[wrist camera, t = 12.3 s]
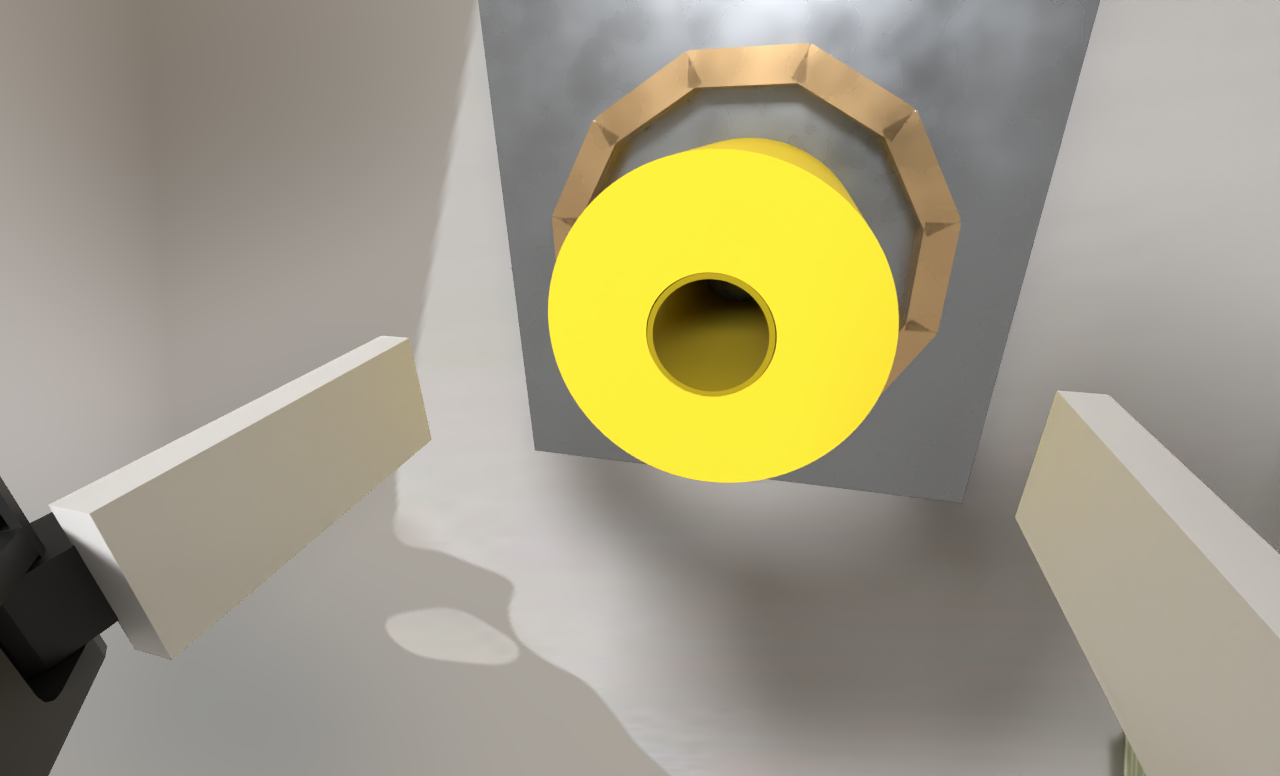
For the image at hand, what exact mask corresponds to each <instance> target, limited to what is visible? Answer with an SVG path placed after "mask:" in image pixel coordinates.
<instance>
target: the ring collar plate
mask: <svg viewBox="0 0 1280 776" xmlns="http://www.w3.org/2000/svg"><path fill="white" fill-rule="evenodd" d="M478 1H479V9H480V17H481V25H482V33H483V41H484V49H485V57H486V65H487V73H488V81H489V89H490V97H491V105H492V113H493V120H494V128H495V136H496V144H497V152H498V160H499V168H500V176H501V184H502V192H503V200H504V208H505V216H506V224H507V232H508V240H509V247H510V255H511V263H512V271H513V279H514V287H515V295H516V303H517V311H518V319H519V327H520V335H521V343H522V351H523V359H524V367H525V375H526V382H527V390H528V398H529V406H530V414H531V422H532V430H533V438H534V446H535V450H537V451H545V452H553V453H561V454H569V455H577V456H586V457H594V458H602V459H610V460H618V461H626V462H634V463H642V464H647V463H645V462H643V461H641V460H639V459H637V458H635V457H634V456H632V455H630V454H629V453H627V452H626V451H624V450H623V449H621V448H620V447H619V446H617V445H616V444H615V443H613V442H612V441H611V440H610V439H609V438H607V437H606V436H605V435H604V434H603V433H602V432H601V431H600V430H599V429H598V428H597V427H596V426H595V425H594V424H593V423H592V422H591V421H590V420H589V418H588V417H587V416H586V415H585V414H584V412H583V411H582V410H581V408H580V407H579V405H578V404H577V403H576V401H575V399H574V398H573V396H572V395H571V393H570V391H569V389H568V388H567V386H566V384H565V382H564V380H563V377H562V375H561V373H560V370H559V368H558V365H557V362H556V359H555V356H554V352H553V348H552V343H551V338H550V332H549V322H548V300H549V290H550V283H551V278H552V274H553V270H554V266H555V263H556V260H557V257H558V255H559V252H560V250H561V247H562V245H563V243H564V241H565V239H566V237H567V235H568V233H569V232H570V230H571V228H572V227H573V225H574V224H575V222H576V221H577V219H578V218H579V216H580V215H581V214H582V213H583V211H584V210H585V209H586V208H587V207H588V205H589V204H590V203H591V202H592V201H593V200H594V199H595V198H596V197H597V196H598V195H599V194H600V193H601V192H603V191H604V190H605V189H606V188H607V187H609V186H610V185H611V184H612V183H614V182H615V181H617V180H618V179H619V178H621V177H623V176H624V175H626V174H627V173H629V172H631V171H633V170H635V169H636V168H638V167H640V166H643V165H645V164H647V163H649V162H652V161H654V160H657V159H660V158H663V157H666V156H670V155H673V154H677V153H681V152H684V151H688V150H691V149H695V148H699V147H702V146H706V145H710V144H713V143H717V142H720V141H725V140H730V139H737V138H763V139H770V140H775V141H779V142H783V143H786V144H789V145H792V146H794V147H797V148H799V149H801V150H803V151H805V152H807V153H808V154H810V155H812V156H813V157H815V158H816V159H818V160H819V161H820V162H822V163H823V164H824V165H825V166H826V167H827V168H829V169H830V170H831V171H832V172H833V174H834V175H835V176H836V177H837V178H838V179H839V180H840V182H841V183H842V184H843V186H844V187H845V189H846V190H847V192H848V193H849V195H850V197H851V198H852V200H853V202H854V203H855V205H856V206H857V208H858V210H859V211H860V213H861V214H862V216H863V218H864V219H865V221H866V223H867V224H868V226H869V227H870V229H871V231H872V232H873V234H874V235H875V237H876V239H877V241H878V242H879V244H880V246H881V248H882V250H883V252H884V254H885V257H886V259H887V262H888V264H889V267H890V270H891V273H892V276H893V280H894V284H895V289H896V294H897V301H898V311H899V330H898V341H897V347H896V353H895V357H894V361H893V365H892V368H891V371H890V374H889V377H888V379H887V382H886V384H885V386H884V388H883V390H882V392H881V394H880V396H879V398H878V400H877V401H876V403H875V405H874V406H873V408H872V409H871V411H870V412H869V414H868V415H867V416H866V418H865V419H864V420H863V421H862V423H861V424H860V425H859V426H858V427H857V428H856V429H855V430H854V431H853V432H852V433H851V434H850V435H849V436H848V437H847V438H846V439H845V440H844V441H843V442H841V443H840V444H839V445H838V446H836V447H835V448H834V449H832V450H831V451H830V452H828V453H827V454H825V455H824V456H822V457H820V458H819V459H817V460H815V461H813V462H811V463H810V464H808V465H805V466H803V467H801V468H799V469H796V470H794V471H791V472H788V473H786V474H782V475H779V476H776V477H772V478H767V479H771V480H779V481H787V482H796V483H804V484H812V485H820V486H828V487H836V488H844V489H852V490H860V491H868V492H876V493H884V494H892V495H901V496H909V497H917V498H925V499H933V500H941V501H949V502H957V503H962V501H963V498H964V494H965V490H966V487H967V483H968V480H969V476H970V472H971V469H972V465H973V461H974V458H975V454H976V450H977V447H978V443H979V439H980V436H981V432H982V429H983V425H984V421H985V418H986V414H987V410H988V407H989V403H990V399H991V396H992V392H993V388H994V385H995V381H996V378H997V374H998V370H999V367H1000V363H1001V359H1002V356H1003V352H1004V348H1005V345H1006V341H1007V338H1008V334H1009V330H1010V327H1011V323H1012V319H1013V316H1014V312H1015V308H1016V305H1017V301H1018V297H1019V294H1020V290H1021V287H1022V283H1023V279H1024V276H1025V272H1026V268H1027V265H1028V261H1029V257H1030V254H1031V250H1032V246H1033V243H1034V239H1035V236H1036V232H1037V228H1038V225H1039V221H1040V217H1041V214H1042V210H1043V206H1044V203H1045V199H1046V195H1047V192H1048V188H1049V185H1050V181H1051V177H1052V174H1053V170H1054V166H1055V163H1056V159H1057V155H1058V152H1059V148H1060V145H1061V141H1062V137H1063V134H1064V130H1065V126H1066V123H1067V119H1068V115H1069V112H1070V108H1071V104H1072V101H1073V97H1074V94H1075V90H1076V86H1077V83H1078V79H1079V75H1080V72H1081V68H1082V64H1083V61H1084V57H1085V53H1086V50H1087V46H1088V43H1089V39H1090V35H1091V32H1092V28H1093V24H1094V21H1095V17H1096V13H1097V10H1098V6H1099V3H1100V0H478ZM706 281H707V283H708V285H709V286H710V287H711V289H712V290H713V291H714V292H715V293H716V294H718V295H719V296H721V297H722V298H724V299H727V300H730V301H735V302H746V301H751V300H754V298H753V297H752V296H751V295H750V294H749V293H747V292H746V291H745V290H743V289H742V288H740V287H738V286H737V285H734V284H732V283H729V282H726V281H722V280H716V279H706Z"/></svg>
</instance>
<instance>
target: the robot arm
mask: <svg viewBox="0 0 1280 776" xmlns="http://www.w3.org/2000/svg"><path fill="white" fill-rule="evenodd" d="M430 440H431V435H430V431H429V426H428V421H427V417H426V412H425V408H424V403H423V399H422V394H421V389H420V385H419V380H418V376H417V371H416V367H415V362H414V357H413V353H412V348H411V344H410V340H409V338H403V337H391V336H380V337H378V338H376V339H374V340H372V341H370V342H368V343H366V344H364V345H362V346H360V347H358V348H357V349H354V350H352V351H351V352H349V353H347V354H345V355H343V356H341V357H339V358H337V359H335V360H333V361H331V362H329V363H327V364H325V365H323V366H321V367H319V368H317V369H315V370H313V371H311V372H309V373H307V374H305V375H303V376H301V377H299V378H298V379H295V380H293V381H291V382H289V383H287V384H285V385H284V386H282V387H280V388H278V389H276V390H274V391H272V392H270V393H268V394H266V395H264V396H262V397H260V398H258V399H256V400H254V401H252V402H250V403H248V404H246V405H244V406H242V407H241V408H238V409H236V410H234V411H233V412H230V413H228V414H226V415H225V416H223V417H221V418H219V419H217V420H215V421H213V422H211V423H209V424H207V425H205V426H203V427H201V428H199V429H197V430H195V431H193V432H191V433H189V434H187V435H185V436H183V437H181V438H179V439H177V440H175V441H173V442H171V443H169V444H167V445H166V446H164V447H162V448H160V449H158V450H156V451H154V452H152V453H150V454H148V455H146V456H144V457H142V458H140V459H138V460H136V461H134V462H132V463H130V464H128V465H126V466H124V467H122V468H120V469H118V470H116V471H114V472H112V473H110V474H109V475H107V476H105V477H103V478H101V479H99V480H97V481H95V482H93V483H91V484H89V485H87V486H85V487H83V488H81V489H79V490H77V491H75V492H73V493H71V494H69V495H67V496H65V497H63V498H61V499H59V500H58V501H55V502H54V503H52V504H49V507H50V508H51V510H52V512H51V513H49V514H47V515H46V516H44V517H42V518H40V519H37V520H35V521H34V522H31V523H29V521H28V520H27V518H26V517H25V515H24V513H23V512H22V510H21V509H20V507H19V506H18V504H17V502H16V501H15V499H14V498H13V496H12V495H11V493H10V491H9V490H8V488H7V486H6V485H5V483H4V482H3V480H2V478H1V477H0V776H48V775H49V773H50V771H51V769H52V767H53V765H54V763H55V761H56V758H57V756H58V754H59V752H60V750H61V748H62V746H63V744H64V742H65V740H66V738H67V736H68V733H69V731H70V729H71V727H72V725H73V723H74V721H75V719H76V717H77V714H78V713H79V711H80V708H81V706H82V704H83V702H84V700H85V698H86V696H87V694H88V692H89V690H90V687H91V685H92V683H93V681H94V679H95V677H96V675H97V673H98V671H99V669H100V666H101V665H102V663H103V661H104V658H105V655H106V649H107V646H106V644H105V642H104V641H103V639H102V638H101V636H100V633H102V632H103V631H104V630H106V629H107V628H109V627H110V626H111V625H112V624H114V623H115V622H117V621H118V622H119V624H120V625H121V627H122V629H123V630H124V632H125V634H126V635H127V637H128V639H129V640H130V642H131V644H132V645H133V647H134V649H136V650H139V651H143V652H146V653H149V654H153V655H157V656H160V657H164V658H167V659H171V660H172V659H174V658H175V657H176V656H177V655H178V654H180V653H181V652H182V651H183V650H184V649H185V648H187V647H188V646H189V645H190V644H191V643H192V642H194V641H195V640H196V639H197V638H198V637H199V636H201V635H202V634H203V633H204V632H205V631H207V630H208V629H209V628H210V627H211V626H213V625H214V624H215V623H216V622H217V621H218V620H219V619H221V618H222V617H223V616H224V615H225V614H227V613H228V612H229V611H230V610H231V609H232V608H234V607H235V606H236V605H237V604H238V603H240V602H241V601H242V600H243V599H244V598H245V597H247V596H248V595H249V594H250V593H251V592H253V591H254V590H255V589H256V588H257V587H258V586H260V585H261V584H262V583H263V582H264V581H266V580H267V579H268V578H269V577H270V576H271V575H273V574H274V573H275V572H276V571H277V570H278V569H280V568H281V567H282V566H283V565H284V564H285V563H287V562H288V561H289V560H290V559H291V558H293V557H294V556H295V555H296V554H297V553H298V552H299V551H301V550H302V549H303V548H304V547H306V546H307V545H308V544H309V543H310V542H311V541H313V540H314V539H315V538H316V537H317V536H319V534H321V533H322V532H323V531H324V530H325V529H327V528H328V527H329V526H330V525H332V524H333V523H334V522H335V521H336V520H337V519H339V518H340V517H341V516H342V515H343V514H344V513H346V512H347V511H348V510H349V509H350V508H351V507H353V506H354V505H355V504H356V503H357V502H358V501H360V500H361V499H362V498H363V497H365V496H366V495H367V494H368V493H369V492H370V491H372V490H373V489H374V488H375V487H376V486H377V485H379V484H380V483H381V482H382V481H383V480H384V479H386V478H387V477H388V476H389V475H390V474H391V473H393V472H394V471H395V470H396V469H397V468H399V467H400V466H401V465H402V464H403V463H405V462H406V461H407V460H408V459H409V458H410V457H412V456H413V455H414V454H415V453H416V452H418V451H419V450H420V449H421V448H422V447H423V446H425V445H426V444H427V443H428V442H429V441H430ZM1015 519H1016V520H1017V522H1018V524H1019V526H1020V528H1021V530H1022V532H1023V534H1024V536H1025V538H1026V540H1027V542H1028V544H1029V546H1030V548H1031V550H1032V552H1033V554H1034V556H1035V558H1036V560H1037V562H1038V564H1039V566H1040V568H1041V570H1042V572H1043V574H1044V576H1045V578H1046V580H1047V581H1048V583H1049V585H1050V587H1051V589H1052V591H1053V593H1054V595H1055V597H1056V599H1057V601H1058V603H1059V605H1060V607H1061V609H1062V611H1063V613H1064V615H1065V617H1066V619H1067V621H1068V623H1069V625H1070V627H1071V629H1072V631H1073V633H1074V635H1075V637H1076V639H1077V641H1078V642H1079V644H1080V646H1081V648H1082V650H1083V652H1084V654H1085V656H1086V658H1087V660H1088V662H1089V664H1090V666H1091V668H1092V670H1093V672H1094V674H1095V676H1096V678H1097V680H1098V682H1099V684H1100V686H1101V688H1102V690H1103V692H1104V694H1105V696H1106V698H1107V700H1108V702H1109V703H1110V705H1111V707H1112V709H1113V711H1114V713H1115V715H1116V717H1117V719H1118V721H1119V723H1120V725H1121V727H1122V729H1123V731H1124V733H1125V735H1126V737H1127V739H1128V741H1129V743H1130V745H1131V747H1132V749H1133V751H1134V753H1135V755H1136V757H1137V759H1138V761H1139V763H1140V764H1141V766H1142V768H1143V770H1144V772H1145V774H1146V776H1280V554H1279V553H1278V552H1277V551H1276V550H1274V549H1273V548H1272V547H1271V546H1270V545H1269V544H1268V543H1267V542H1266V541H1265V540H1264V539H1263V538H1262V537H1261V536H1259V535H1258V534H1257V533H1256V532H1255V531H1254V530H1253V529H1252V528H1251V527H1250V526H1249V525H1248V524H1247V523H1246V522H1244V521H1243V520H1242V519H1241V518H1240V517H1239V516H1238V515H1237V514H1236V513H1235V512H1234V511H1233V510H1232V509H1231V508H1230V507H1228V506H1227V505H1226V504H1225V503H1224V502H1223V501H1222V500H1221V499H1220V498H1219V497H1218V496H1217V495H1216V494H1215V493H1213V492H1212V491H1211V490H1210V489H1209V488H1208V487H1207V486H1206V485H1205V484H1204V483H1203V482H1202V481H1201V480H1200V479H1198V478H1197V477H1196V476H1195V475H1194V474H1193V473H1192V472H1191V471H1190V470H1189V469H1188V468H1187V467H1186V466H1185V465H1183V464H1182V463H1181V462H1180V461H1179V460H1178V459H1177V458H1176V457H1175V456H1174V455H1173V454H1172V453H1171V452H1170V451H1168V450H1167V449H1166V448H1165V447H1164V446H1163V445H1162V444H1161V443H1160V442H1159V441H1158V440H1157V439H1156V438H1155V437H1153V436H1152V435H1151V434H1150V433H1149V432H1148V431H1147V430H1146V429H1145V428H1144V427H1143V426H1142V425H1141V424H1140V423H1138V422H1137V421H1136V420H1135V419H1134V418H1133V417H1132V416H1131V415H1130V414H1129V413H1128V412H1127V411H1126V410H1125V409H1123V408H1122V407H1121V406H1120V405H1119V404H1118V403H1117V402H1116V401H1115V400H1114V399H1113V398H1112V397H1111V396H1110V395H1107V394H1094V393H1082V392H1070V391H1057V392H1056V395H1055V398H1054V401H1053V404H1052V407H1051V410H1050V413H1049V416H1048V419H1047V422H1046V425H1045V428H1044V431H1043V434H1042V437H1041V440H1040V443H1039V446H1038V449H1037V452H1036V455H1035V458H1034V461H1033V464H1032V467H1031V470H1030V473H1029V476H1028V479H1027V483H1026V486H1025V489H1024V492H1023V495H1022V498H1021V501H1020V504H1019V507H1018V510H1017V513H1016V516H1015Z"/></svg>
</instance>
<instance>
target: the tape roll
mask: <svg viewBox="0 0 1280 776" xmlns="http://www.w3.org/2000/svg"><path fill="white" fill-rule="evenodd" d="M706 279H716V280H722V281H726V282H729V283H732V284H734V285H737V286H738V287H740V288H742V289H743V290H745V291H746V292H747V293H749V294H750V295H751V296H752V297H753V298H754V300H751V301H746V302H735V301H730V300H727V299H724V298H722V297H721V296H719V295H718V294H716V293H715V292H714V291H713V290H712V289H711V287H710V286H709V285H708V283H707V281H706ZM548 322H549V332H550V338H551V343H552V348H553V352H554V356H555V359H556V362H557V365H558V368H559V370H560V373H561V375H562V377H563V380H564V382H565V384H566V386H567V388H568V389H569V391H570V393H571V395H572V396H573V398H574V399H575V401H576V403H577V404H578V405H579V407H580V408H581V410H582V411H583V412H584V414H585V415H586V416H587V417H588V418H589V420H590V421H591V422H592V423H593V424H594V425H595V426H596V427H597V428H598V429H599V430H600V431H601V432H602V433H603V434H604V435H605V436H606V437H607V438H609V439H610V440H611V441H612V442H613V443H615V444H616V445H617V446H619V447H620V448H621V449H623V450H624V451H626V452H627V453H629V454H630V455H632V456H634V457H635V458H637V459H639V460H641V461H643V462H645V463H647V464H649V465H651V466H653V467H655V468H658V469H660V470H663V471H665V472H668V473H671V474H674V475H678V476H681V477H685V478H690V479H695V480H701V481H708V482H722V483H735V482H749V481H756V480H762V479H767V478H772V477H776V476H779V475H782V474H786V473H788V472H791V471H794V470H796V469H799V468H801V467H803V466H805V465H808V464H810V463H811V462H813V461H815V460H817V459H819V458H820V457H822V456H824V455H825V454H827V453H828V452H830V451H831V450H832V449H834V448H835V447H836V446H838V445H839V444H840V443H841V442H843V441H844V440H845V439H846V438H847V437H848V436H849V435H850V434H851V433H852V432H853V431H854V430H855V429H856V428H857V427H858V426H859V425H860V424H861V423H862V421H863V420H864V419H865V418H866V416H867V415H868V414H869V412H870V411H871V409H872V408H873V406H874V405H875V403H876V401H877V400H878V398H879V396H880V394H881V392H882V390H883V388H884V386H885V384H886V382H887V379H888V377H889V374H890V371H891V368H892V365H893V361H894V357H895V353H896V347H897V341H898V330H899V311H898V301H897V294H896V289H895V284H894V280H893V276H892V273H891V270H890V267H889V264H888V262H887V259H886V257H885V254H884V252H883V250H882V248H881V246H880V244H879V242H878V241H877V239H876V237H875V235H874V234H873V232H872V231H871V229H870V227H869V226H868V224H867V223H866V221H865V219H864V218H863V216H862V214H861V213H860V211H859V210H858V208H857V206H856V205H855V203H854V202H853V200H852V198H851V197H850V195H849V193H848V192H847V190H846V189H845V187H844V186H843V184H842V183H841V182H840V180H839V179H838V178H837V177H836V176H835V175H834V174H833V172H832V171H831V170H830V169H829V168H827V167H826V166H825V165H824V164H823V163H822V162H820V161H819V160H818V159H816V158H815V157H813V156H812V155H810V154H808V153H807V152H805V151H803V150H801V149H799V148H797V147H794V146H792V145H789V144H786V143H783V142H779V141H775V140H770V139H763V138H737V139H730V140H725V141H720V142H717V143H713V144H710V145H706V146H702V147H699V148H695V149H691V150H688V151H684V152H681V153H677V154H673V155H670V156H666V157H663V158H660V159H657V160H654V161H652V162H649V163H647V164H645V165H643V166H640V167H638V168H636V169H635V170H633V171H631V172H629V173H627V174H626V175H624V176H623V177H621V178H619V179H618V180H617V181H615V182H614V183H612V184H611V185H610V186H609V187H607V188H606V189H605V190H604V191H603V192H601V193H600V194H599V195H598V196H597V197H596V198H595V199H594V200H593V201H592V202H591V203H590V204H589V205H588V207H587V208H586V209H585V210H584V211H583V213H582V214H581V215H580V216H579V218H578V219H577V221H576V222H575V224H574V225H573V227H572V228H571V230H570V232H569V233H568V235H567V237H566V239H565V241H564V243H563V245H562V247H561V250H560V252H559V255H558V257H557V260H556V263H555V266H554V270H553V274H552V278H551V283H550V290H549V300H548Z"/></svg>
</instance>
